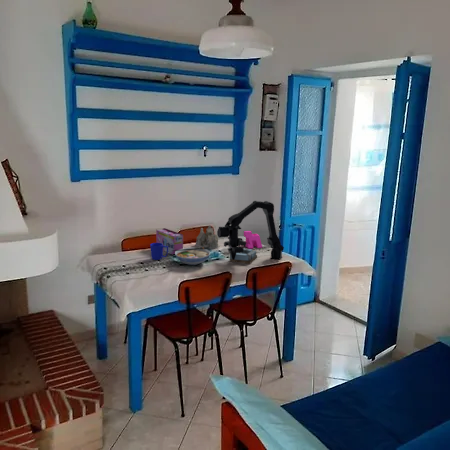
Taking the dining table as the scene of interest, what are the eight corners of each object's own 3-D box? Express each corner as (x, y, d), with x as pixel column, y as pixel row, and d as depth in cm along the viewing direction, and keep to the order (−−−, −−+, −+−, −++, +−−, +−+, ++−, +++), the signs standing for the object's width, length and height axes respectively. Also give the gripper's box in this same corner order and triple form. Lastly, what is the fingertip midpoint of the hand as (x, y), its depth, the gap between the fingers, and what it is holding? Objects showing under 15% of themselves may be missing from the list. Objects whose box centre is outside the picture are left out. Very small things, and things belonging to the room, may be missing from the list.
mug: (166, 261, 293) (166, 246, 290) (148, 260, 295) (148, 245, 293) (170, 257, 301) (170, 243, 298) (153, 256, 303) (152, 242, 301)
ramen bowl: (176, 270, 276) (176, 258, 274) (170, 259, 297) (170, 247, 295) (215, 267, 282) (215, 255, 280) (207, 256, 304) (207, 245, 302)
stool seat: (257, 258, 302) (257, 250, 301) (249, 264, 290) (250, 255, 289) (237, 255, 308) (237, 247, 306) (229, 261, 295) (230, 253, 294)
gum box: (155, 247, 324) (154, 229, 320) (164, 245, 329) (163, 227, 326) (174, 255, 306) (173, 236, 303) (183, 253, 311) (183, 234, 308)
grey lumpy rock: (194, 243, 335) (195, 224, 331) (216, 243, 338) (217, 224, 334) (197, 250, 320) (198, 230, 316) (220, 250, 324) (221, 230, 319)
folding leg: (251, 259, 292) (251, 253, 292) (250, 260, 290) (250, 255, 289) (231, 257, 295) (231, 252, 294) (230, 259, 293) (230, 253, 292)
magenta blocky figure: (243, 244, 334) (243, 231, 332) (256, 243, 337) (256, 230, 334) (248, 249, 323) (249, 235, 320) (262, 248, 326) (262, 234, 323)
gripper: (251, 238, 281) (250, 262, 284) (239, 231, 298) (238, 254, 301) (235, 240, 277) (234, 264, 280) (223, 233, 294) (223, 256, 297)
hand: (233, 259), depth 290 cm, fingers closed
